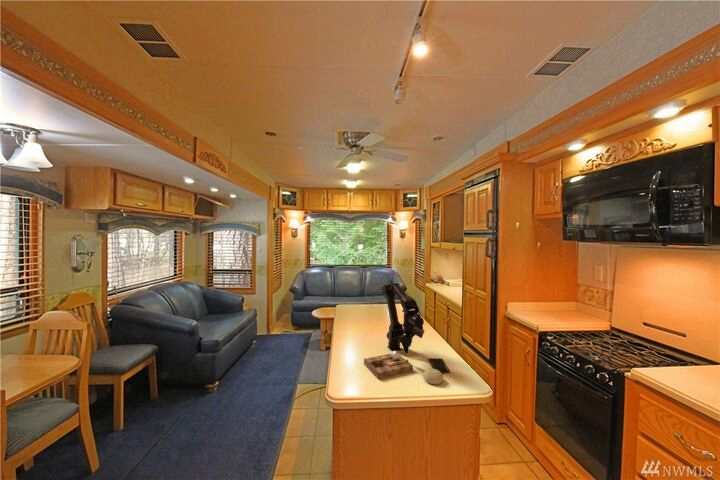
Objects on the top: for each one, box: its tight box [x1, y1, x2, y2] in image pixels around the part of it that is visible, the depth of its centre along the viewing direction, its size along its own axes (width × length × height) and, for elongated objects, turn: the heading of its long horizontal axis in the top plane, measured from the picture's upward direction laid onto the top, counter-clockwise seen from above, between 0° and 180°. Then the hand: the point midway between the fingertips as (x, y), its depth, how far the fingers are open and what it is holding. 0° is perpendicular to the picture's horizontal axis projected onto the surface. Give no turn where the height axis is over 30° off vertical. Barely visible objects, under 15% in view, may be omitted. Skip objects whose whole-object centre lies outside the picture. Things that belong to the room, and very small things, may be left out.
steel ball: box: [390, 350, 402, 361], centre depth 143 cm, size 5×5×5 cm
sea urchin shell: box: [422, 368, 444, 385], centre depth 130 cm, size 9×8×8 cm
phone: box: [428, 357, 451, 374], centre depth 144 cm, size 8×1×15 cm
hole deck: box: [363, 352, 414, 380], centre depth 141 cm, size 20×16×4 cm
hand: (408, 349), depth 150 cm, fingers open, 9 cm apart
